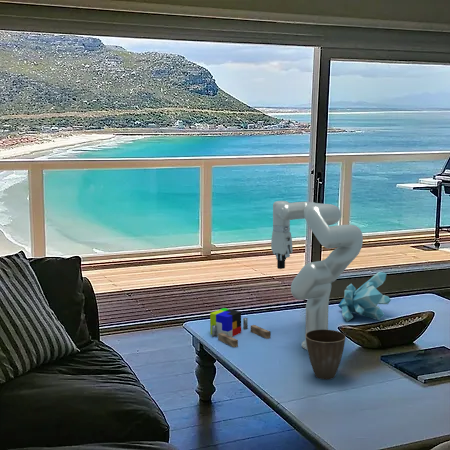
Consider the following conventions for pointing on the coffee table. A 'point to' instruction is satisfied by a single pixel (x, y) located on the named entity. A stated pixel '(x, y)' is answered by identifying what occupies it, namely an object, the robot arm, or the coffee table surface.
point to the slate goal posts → (245, 326)
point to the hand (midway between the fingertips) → (281, 268)
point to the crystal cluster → (365, 299)
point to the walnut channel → (234, 342)
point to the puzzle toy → (226, 322)
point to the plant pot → (325, 352)
